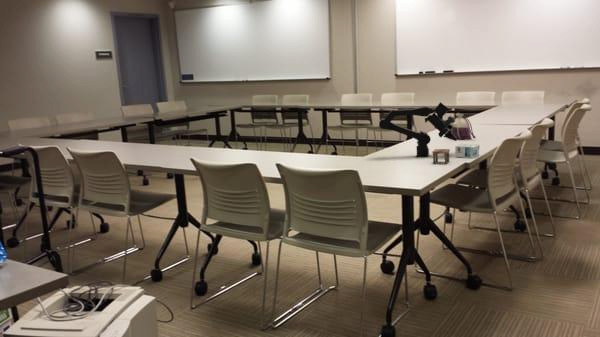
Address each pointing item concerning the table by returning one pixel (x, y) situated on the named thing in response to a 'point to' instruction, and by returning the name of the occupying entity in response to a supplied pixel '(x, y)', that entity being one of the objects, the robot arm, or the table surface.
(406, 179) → the table surface
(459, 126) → the pouch
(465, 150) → the light bulb box
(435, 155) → the walnut stool
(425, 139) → the robot arm
